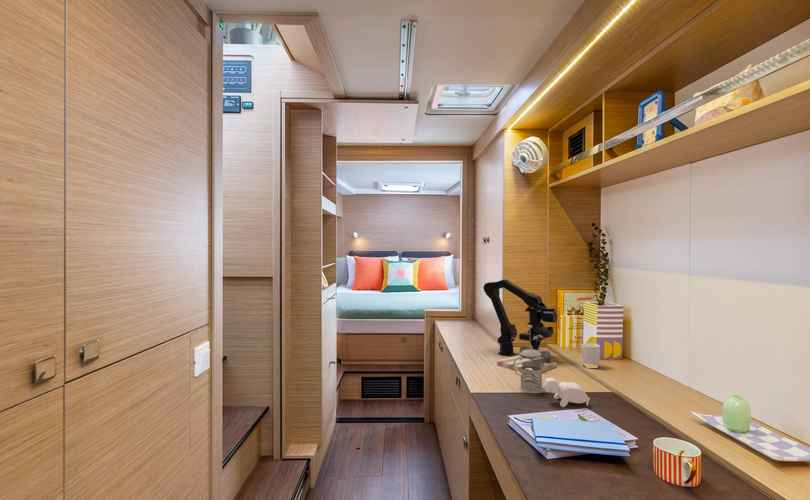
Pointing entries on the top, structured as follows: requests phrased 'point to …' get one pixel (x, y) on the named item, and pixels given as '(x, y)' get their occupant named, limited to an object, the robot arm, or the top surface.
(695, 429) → the top surface
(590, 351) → the white cup
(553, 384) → the white animal figurine
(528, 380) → the french press
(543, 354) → the walnut leg
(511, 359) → the stool seat
